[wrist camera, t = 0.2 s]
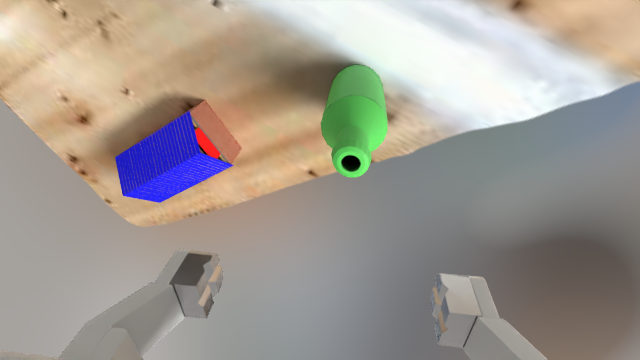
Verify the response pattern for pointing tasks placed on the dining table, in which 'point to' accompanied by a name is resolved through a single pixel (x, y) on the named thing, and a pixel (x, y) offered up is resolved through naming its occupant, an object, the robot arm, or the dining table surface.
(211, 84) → the dining table surface
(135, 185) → the brown and blue block
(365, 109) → the bottle
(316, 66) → the dining table surface
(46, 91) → the dining table surface
